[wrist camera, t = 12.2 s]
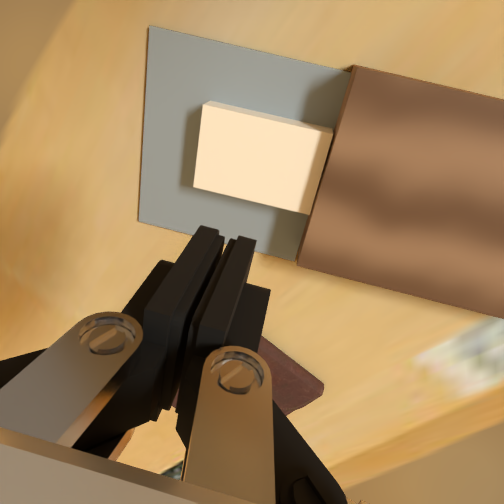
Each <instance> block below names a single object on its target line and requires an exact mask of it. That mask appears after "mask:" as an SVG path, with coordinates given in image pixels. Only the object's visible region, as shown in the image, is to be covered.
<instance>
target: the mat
mask: <svg viewBox="0 0 504 504" xmlns="http://www.w3.org/2000/svg"><path fill="white" fill-rule="evenodd" d="M350 76H351V72H346V71H342V70H338V69H334V68H329V67H325V66H321V65H316V64H312V63H308V62H304V61H299V60H295V59H291V58H287V57H282V56H278V55H274V54H270V53H265V52H261V51H257V50H253V49H248V48H244V47H240V46H235V45H231V44H227V43H223V42H218V41H214V40H210V39H206V38H201V37H197V36H193V35H189V34H184V33H180V32H176V31H172V30H167V29H163V28H159V27H154V26H149V43H148V61H147V79H146V97H145V116H144V134H143V152H142V170H141V188H140V207H139V222H143V223H147V224H151V225H155V226H159V227H163V228H166V229H170V230H174V231H178V232H182V233H186V234H190V235H194V234H195V232H196V231H197V229H198V228H199V226H200V225H203V226H207V227H211V228H214V229H218V230H219V235H221V236H225V241H224V243H225V244H228V242H229V240H230V238H232V239H236V240H237V238H238V236H239V235H240V236H244V237H247V238H251V239H255V240H257V242H256V246H255V250H254V251H256V252H260V253H264V254H268V255H272V256H276V257H279V258H283V259H287V260H291V261H295V258H296V255H297V251H298V248H299V245H300V241H301V238H302V235H303V231H304V228H305V225H306V221H307V218H308V215H307V214H303V213H299V212H295V211H291V210H287V209H282V208H278V207H274V206H270V205H266V204H262V203H257V202H253V201H249V200H245V199H241V198H237V197H232V196H228V195H224V194H220V193H216V192H212V191H208V190H203V189H199V188H195V187H193V185H194V176H195V168H196V159H197V151H198V142H199V134H200V125H201V117H202V108H203V104H205V103H207V102H209V101H214V102H219V103H223V104H227V105H232V106H236V107H240V108H245V109H249V110H253V111H258V112H262V113H267V114H271V115H275V116H280V117H284V118H288V119H293V120H297V121H301V122H306V123H310V124H315V125H319V126H323V127H328V128H332V130H333V132H334V129H335V126H336V122H337V119H338V116H339V112H340V109H341V106H342V102H343V99H344V96H345V92H346V89H347V86H348V83H349V79H350Z"/></svg>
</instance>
